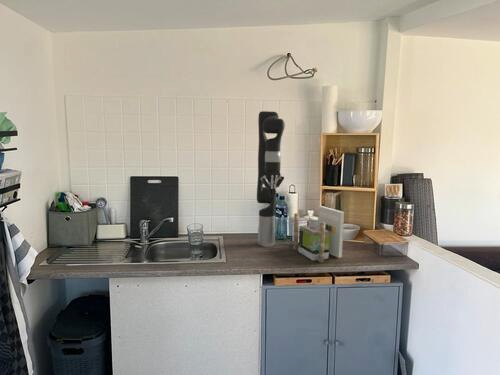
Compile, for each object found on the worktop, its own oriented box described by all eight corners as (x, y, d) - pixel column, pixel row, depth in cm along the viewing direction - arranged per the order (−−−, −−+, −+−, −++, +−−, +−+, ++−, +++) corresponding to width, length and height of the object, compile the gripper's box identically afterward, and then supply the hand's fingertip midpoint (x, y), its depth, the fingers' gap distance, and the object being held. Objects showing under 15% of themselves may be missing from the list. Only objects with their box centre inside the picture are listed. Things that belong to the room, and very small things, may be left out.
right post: (317, 261, 187) (319, 222, 184) (321, 260, 188) (323, 222, 185) (320, 262, 185) (322, 223, 182) (324, 262, 186) (326, 223, 183)
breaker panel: (315, 248, 207) (316, 206, 204) (319, 247, 209) (321, 205, 205) (337, 258, 192) (339, 212, 188) (341, 257, 193) (344, 212, 190)
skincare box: (311, 246, 211) (312, 219, 209) (306, 243, 217) (307, 217, 215) (324, 245, 213) (326, 219, 211) (320, 242, 219) (321, 216, 217)
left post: (292, 249, 206) (293, 213, 203) (296, 248, 207) (297, 213, 204) (294, 250, 204) (296, 214, 201) (298, 249, 205) (299, 214, 202)
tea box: (329, 258, 191) (330, 230, 189) (312, 261, 187) (313, 232, 185) (313, 250, 205) (315, 223, 203) (297, 252, 201) (298, 225, 199)
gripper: (280, 159, 186) (279, 194, 188) (256, 160, 179) (256, 195, 182) (288, 160, 179) (287, 196, 182) (264, 161, 173) (264, 198, 176)
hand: (271, 196), depth 182 cm, fingers closed
